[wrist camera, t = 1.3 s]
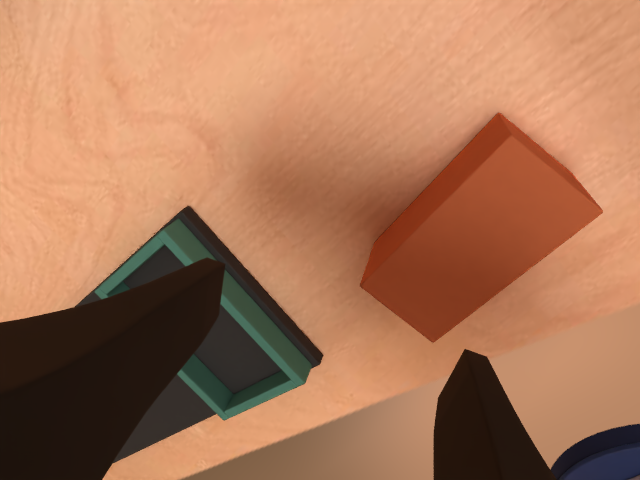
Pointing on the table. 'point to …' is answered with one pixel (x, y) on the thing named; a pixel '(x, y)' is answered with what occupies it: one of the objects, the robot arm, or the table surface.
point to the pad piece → (476, 230)
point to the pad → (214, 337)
